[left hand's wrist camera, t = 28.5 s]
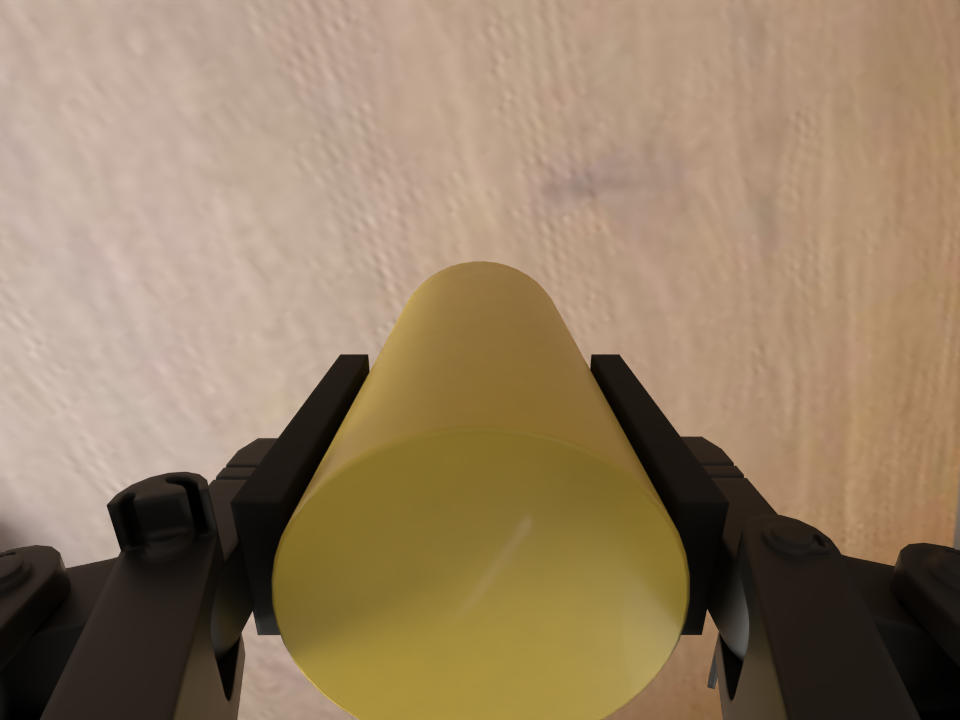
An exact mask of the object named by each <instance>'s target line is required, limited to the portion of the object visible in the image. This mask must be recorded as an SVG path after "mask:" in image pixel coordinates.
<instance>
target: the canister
mask: <svg viewBox="0 0 960 720" xmlns="http://www.w3.org/2000/svg"><path fill="white" fill-rule="evenodd" d="M271 580H272V604H273V609H274V614H275V619H276V624H277V627H278V629H279V632H280V634H281V637H282V640H283V642H284V644H285V646H286V648H287V650H288V651H289V653H290V655H291V657H292V658H293V660H294V662H295V663H296V665H297V666H298V667H299V668H300V670H301V671H302V672H303V674H304V675H305V676H306V678H307V679H308V680H309V681H310V682H311V683H312V684H313V685H314V686H315V687H316V688H317V689H318V690H319V691H320V692H321V693H322V694H323V695H325V696H326V697H327V698H328V699H330V700H331V701H332V702H334V703H335V704H336V705H337V706H339V707H340V708H342V709H343V710H345V711H346V712H348V713H350V714H351V715H353V716H355V717H356V718H358V719H359V720H602V719H604V718H606V717H607V716H609V715H610V714H612V713H613V712H615V711H617V710H618V709H620V708H621V707H623V706H624V705H626V704H627V703H628V702H629V701H630V700H632V699H633V698H634V697H635V696H637V695H638V694H639V693H640V692H642V691H643V689H644V688H645V687H646V686H647V685H648V684H649V683H650V682H651V681H652V680H653V679H654V678H655V677H656V676H657V675H658V673H659V672H660V670H661V669H662V668H663V666H664V665H665V664H666V662H667V661H668V660H669V658H670V656H671V654H672V652H673V651H674V649H675V647H676V645H677V643H678V641H679V639H680V636H681V633H682V630H683V628H684V625H685V622H686V618H687V612H688V606H689V600H690V573H689V567H688V562H687V556H686V552H685V549H684V546H683V543H682V541H681V538H680V535H679V532H678V530H677V529H676V527H675V525H674V523H673V521H672V519H671V518H670V516H669V514H668V512H667V510H666V508H665V507H664V505H663V503H662V501H661V499H660V497H659V495H658V494H657V492H656V490H655V488H654V486H653V484H652V483H651V481H650V479H649V477H648V475H647V473H646V472H645V470H644V468H643V466H642V464H641V462H640V461H639V459H638V457H637V455H636V453H635V451H634V450H633V448H632V446H631V444H630V442H629V440H628V439H627V437H626V435H625V433H624V431H623V429H622V428H621V426H620V424H619V422H618V420H617V418H616V417H615V415H614V413H613V411H612V409H611V407H610V405H609V404H608V402H607V400H606V398H605V396H604V394H603V393H602V391H601V389H600V387H599V385H598V383H597V382H596V380H595V378H594V376H593V374H592V372H591V371H590V369H589V367H588V365H587V363H586V361H585V360H584V358H583V356H582V354H581V352H580V350H579V349H578V347H577V345H576V343H575V341H574V339H573V338H572V336H571V334H570V332H569V330H568V328H567V327H566V325H565V323H564V321H563V319H562V317H561V315H560V314H559V312H558V310H557V308H556V306H555V305H554V303H553V301H552V299H551V298H550V296H549V295H548V294H547V292H546V291H545V290H544V289H543V288H542V287H541V286H540V285H539V284H538V283H537V282H536V281H535V280H533V279H532V278H531V277H529V276H528V275H526V274H524V273H523V272H521V271H519V270H517V269H515V268H512V267H510V266H507V265H503V264H499V263H493V262H468V263H462V264H458V265H454V266H451V267H449V268H446V269H444V270H442V271H440V272H438V273H436V274H435V275H433V276H431V277H430V278H429V279H428V280H426V281H425V282H424V283H423V284H422V285H421V286H420V287H419V288H418V289H417V290H416V291H415V292H414V293H413V295H412V296H411V298H410V299H409V300H408V302H407V304H406V306H405V308H404V310H403V311H402V313H401V315H400V317H399V319H398V321H397V323H396V324H395V326H394V328H393V330H392V332H391V334H390V335H389V337H388V339H387V341H386V343H385V345H384V347H383V348H382V350H381V352H380V354H379V356H378V358H377V360H376V361H375V363H374V365H373V367H372V369H371V371H370V372H369V374H368V376H367V378H366V380H365V382H364V384H363V385H362V387H361V389H360V391H359V393H358V395H357V396H356V398H355V400H354V402H353V404H352V406H351V408H350V409H349V411H348V413H347V415H346V417H345V419H344V421H343V422H342V424H341V426H340V428H339V430H338V432H337V433H336V435H335V437H334V439H333V441H332V443H331V445H330V446H329V448H328V450H327V452H326V454H325V456H324V457H323V459H322V461H321V463H320V465H319V467H318V469H317V470H316V472H315V474H314V476H313V478H312V480H311V481H310V483H309V485H308V487H307V489H306V491H305V493H304V494H303V496H302V498H301V500H300V502H299V504H298V506H297V507H296V509H295V511H294V513H293V515H292V517H291V519H290V520H289V522H288V524H287V526H286V528H285V530H284V532H283V534H282V536H281V539H280V542H279V545H278V548H277V551H276V554H275V558H274V564H273V572H272V579H271Z"/></svg>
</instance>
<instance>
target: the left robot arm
mask: <svg viewBox="0 0 960 720" xmlns="http://www.w3.org/2000/svg"><path fill="white" fill-rule="evenodd" d="M590 371H591V372H592V374H593V376H594V378H595V380H596V382H597V383H598V385H599V387H600V389H601V391H602V393H603V394H604V396H605V398H606V400H607V402H608V404H609V405H610V407H611V409H612V411H613V413H614V415H615V417H616V418H617V420H618V422H619V424H620V426H621V428H622V429H623V431H624V433H625V435H626V437H627V439H628V440H629V442H630V444H631V446H632V448H633V450H634V451H635V453H636V455H637V457H638V459H639V461H640V462H641V464H642V466H643V468H644V470H645V472H646V473H647V475H648V477H649V479H650V481H651V483H652V484H653V486H654V488H655V490H656V492H657V494H658V495H659V497H660V499H661V501H662V503H663V505H664V507H665V508H666V510H667V512H668V514H669V516H670V518H671V519H672V521H673V523H674V525H675V527H676V529H677V530H678V532H679V535H680V538H681V541H682V543H683V546H684V549H685V552H686V556H687V562H688V567H689V573H690V600H689V606H688V612H687V618H686V622H685V625H684V628H683V630H682V633H681V635H702V631H703V626H704V621H705V617H706V612H707V609H708V611H709V613H710V615H711V617H712V619H713V621H714V623H715V625H716V626H717V628H718V630H719V633H718V638H717V642H716V647H715V651H714V656H713V660H712V665H711V669H710V673H709V679H708V686H707V687H709V688H712V689H715V685H716V681H717V677H718V684H719V692H720V700H721V708H722V716H723V720H960V550H955V549H954V548H950V547H946V546H941V545H935V544H928V543H917V544H909V545H907V546H906V547H904V548H903V549H902V550H901V551H900V554H899V556H898V559H897V562H896V564H895V566H891V565H886V564H881V563H877V562H872V561H867V560H862V559H857V558H853V557H848V556H845V555H841V553H840V551H839V550H838V548H837V547H836V546H835V544H834V543H833V542H832V541H831V539H830V538H828V537H827V536H826V535H824V534H823V533H822V532H820V531H819V530H818V529H816V528H814V527H812V526H810V525H808V524H806V523H804V522H802V521H800V520H797V519H793V518H790V517H786V516H782V515H778V514H777V513H776V512H775V511H774V509H773V508H772V507H771V506H770V505H769V504H768V502H767V501H766V500H765V499H764V498H763V497H762V495H761V494H760V493H759V492H758V491H757V490H756V488H755V487H754V486H753V485H752V484H751V483H750V481H749V480H748V479H747V478H744V475H743V473H742V472H741V471H740V470H739V469H738V468H737V466H734V463H733V462H732V461H731V459H730V458H729V457H728V456H727V455H726V454H725V452H724V451H723V450H722V449H721V448H719V447H718V446H716V445H714V444H713V443H711V442H709V441H708V440H706V439H705V438H703V437H680V436H679V434H678V433H677V431H676V430H675V429H674V427H673V426H672V425H671V423H670V422H669V421H668V419H667V418H666V417H665V415H664V414H663V413H662V411H661V410H660V409H659V407H658V406H657V405H656V403H655V402H654V401H653V399H652V398H651V397H650V395H649V394H648V393H647V391H646V390H645V389H644V387H643V386H642V384H641V383H640V382H639V380H638V379H637V378H636V376H635V375H634V374H633V372H632V371H631V370H630V368H629V367H628V366H627V364H626V363H625V362H624V360H623V359H622V358H621V356H620V355H591V367H590ZM369 372H370V371H369V359H368V355H340V356H339V357H338V359H337V360H336V361H335V363H334V364H333V365H332V367H331V368H330V369H329V371H328V372H327V373H326V375H325V376H324V377H323V379H322V380H321V381H320V383H319V384H318V385H317V387H316V388H315V389H314V391H313V392H312V393H311V395H310V396H309V397H308V399H307V400H306V402H305V403H304V404H303V406H302V407H301V408H300V410H299V411H298V412H297V414H296V415H295V416H294V418H293V419H292V420H291V422H290V423H289V424H288V426H287V427H286V428H285V430H284V431H283V432H282V434H281V435H280V436H279V438H258V439H256V440H255V441H253V442H252V443H250V444H248V445H247V446H245V447H244V448H242V449H240V450H239V451H238V452H237V453H236V454H235V455H234V456H233V458H232V459H231V460H230V461H229V462H228V463H227V465H226V468H223V469H222V471H221V472H220V473H219V474H218V475H217V476H216V480H213V481H212V482H211V483H210V485H209V486H208V483H207V480H206V479H205V478H204V477H202V476H201V475H200V474H195V473H190V472H175V473H166V474H162V475H158V476H154V477H150V478H147V479H145V480H143V481H140V482H138V483H135V484H133V485H131V486H129V487H128V488H126V489H125V490H123V491H121V492H120V493H118V494H117V495H116V496H115V497H114V498H113V499H112V500H111V501H110V502H109V503H108V504H107V508H108V511H109V514H110V517H111V520H112V524H113V527H114V530H115V533H116V536H117V540H118V543H119V546H120V549H121V552H120V554H119V556H118V557H116V558H113V559H109V560H104V561H99V562H94V563H90V564H85V565H80V566H76V567H71V568H65V566H64V563H63V560H62V558H61V555H60V553H59V552H58V551H57V550H55V549H54V548H53V547H49V546H39V545H35V546H28V547H22V548H16V549H12V550H8V551H6V552H4V553H3V552H2V553H0V720H237V717H238V709H239V701H240V693H241V685H242V677H243V669H244V661H245V649H244V642H243V638H242V633H241V632H242V630H243V628H244V627H245V625H246V623H247V621H248V619H249V617H250V615H251V613H252V611H253V614H254V618H255V623H256V628H257V633H258V635H281V634H280V632H279V629H278V627H277V624H276V619H275V614H274V609H273V604H272V580H271V579H272V572H273V564H274V558H275V554H276V551H277V548H278V545H279V542H280V539H281V536H282V534H283V532H284V530H285V528H286V526H287V524H288V522H289V520H290V519H291V517H292V515H293V513H294V511H295V509H296V507H297V506H298V504H299V502H300V500H301V498H302V496H303V494H304V493H305V491H306V489H307V487H308V485H309V483H310V481H311V480H312V478H313V476H314V474H315V472H316V470H317V469H318V467H319V465H320V463H321V461H322V459H323V457H324V456H325V454H326V452H327V450H328V448H329V446H330V445H331V443H332V441H333V439H334V437H335V435H336V433H337V432H338V430H339V428H340V426H341V424H342V422H343V421H344V419H345V417H346V415H347V413H348V411H349V409H350V408H351V406H352V404H353V402H354V400H355V398H356V396H357V395H358V393H359V391H360V389H361V387H362V385H363V384H364V382H365V380H366V378H367V376H368V374H369Z"/></svg>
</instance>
